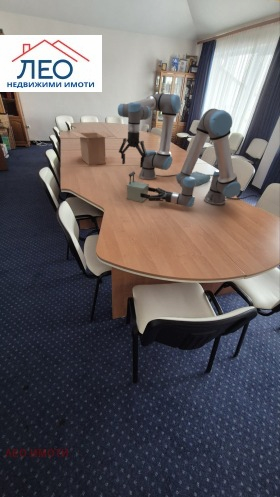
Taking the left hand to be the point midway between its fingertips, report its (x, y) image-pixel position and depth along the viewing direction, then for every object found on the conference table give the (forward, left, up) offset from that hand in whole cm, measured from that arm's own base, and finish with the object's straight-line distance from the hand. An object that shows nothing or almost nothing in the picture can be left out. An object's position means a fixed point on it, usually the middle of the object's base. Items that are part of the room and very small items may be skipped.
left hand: (132, 165), depth 154 cm
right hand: (-9, +5, -17) cm, 20 cm away
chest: (-4, +2, -23) cm, 24 cm away
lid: (-4, +2, -14) cm, 14 cm away
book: (-62, -37, -23) cm, 76 cm away
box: (+34, -92, -23) cm, 101 cm away
